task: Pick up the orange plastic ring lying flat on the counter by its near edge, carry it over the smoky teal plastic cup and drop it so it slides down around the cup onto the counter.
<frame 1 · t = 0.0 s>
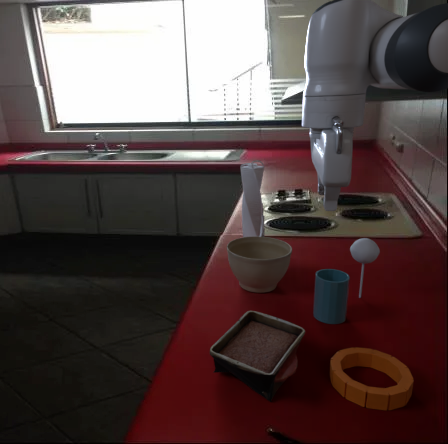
hand: (326, 201, 68), 31 cm above the counter, tool pointing down, fingers open, 8 cm apart
cup: (329, 316, 93), on the counter
planter bowl: (258, 285, 109), on the counter
skyscraper: (252, 243, 139), on the counter
baking dish: (256, 371, 77), on the counter
ring: (368, 383, 72), on the counter
lollipop: (359, 298, 100), on the counter
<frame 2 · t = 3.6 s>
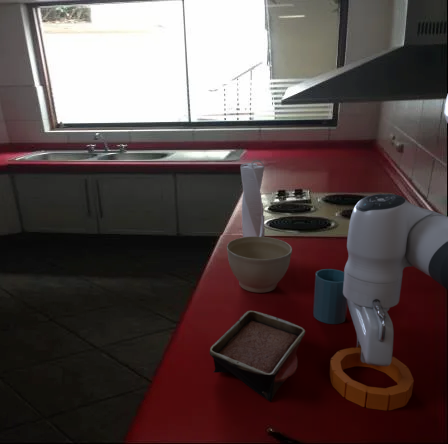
hand: (363, 355, 76), 2 cm above the counter, tool pointing down, fingers closed on ring
ring: (368, 383, 72), on the counter, touching gripper
everything else where it was.
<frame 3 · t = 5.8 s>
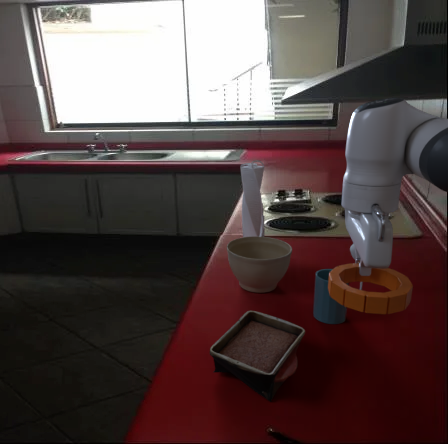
hand: (362, 270, 76), 17 cm above the counter, tool pointing down, fingers closed on ring
ring: (367, 294, 72), point 15 cm above the counter, touching gripper
everything else where it was.
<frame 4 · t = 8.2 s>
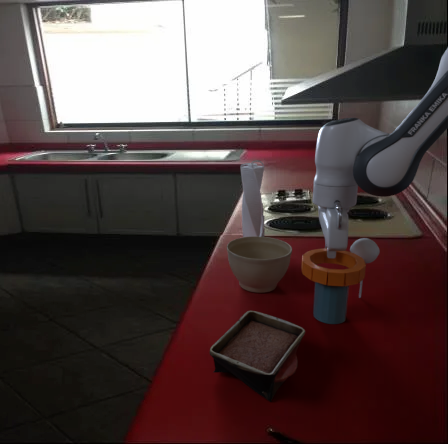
hand: (330, 254, 94), 13 cm above the counter, tool pointing down, fingers closed on ring
ring: (332, 272, 90), point 11 cm above the counter, touching gripper
everything else where it was.
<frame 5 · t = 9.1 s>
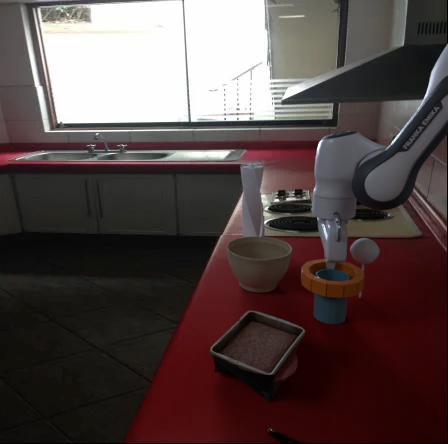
hand: (329, 265, 95), 10 cm above the counter, tool pointing down, fingers closed on ring
ring: (331, 283, 91), point 8 cm above the counter, touching gripper
everything else where it was.
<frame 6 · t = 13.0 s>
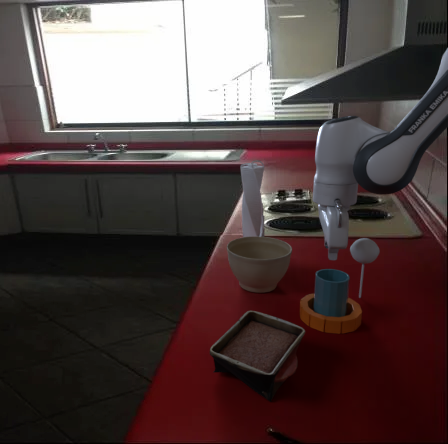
hand: (330, 253, 94), 13 cm above the counter, tool pointing down, fingers open, 5 cm apart
ring: (329, 317, 93), on the counter
everything else where it was.
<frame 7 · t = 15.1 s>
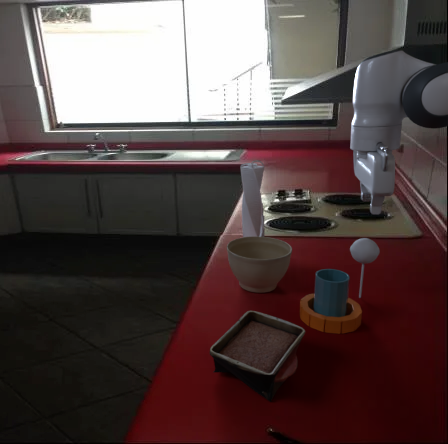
hand: (370, 206, 87), 25 cm above the counter, tool pointing down, fingers open, 8 cm apart
nothing on the counter moved.
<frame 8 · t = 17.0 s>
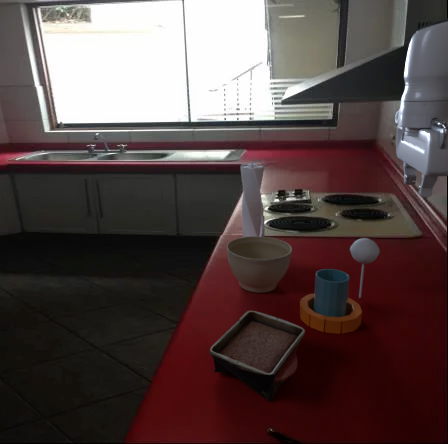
hand: (416, 189, 81), 29 cm above the counter, tool pointing down, fingers open, 8 cm apart
nothing on the counter moved.
at the end: ring 0.8 cm from the cup (horizontally); ring on the counter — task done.
